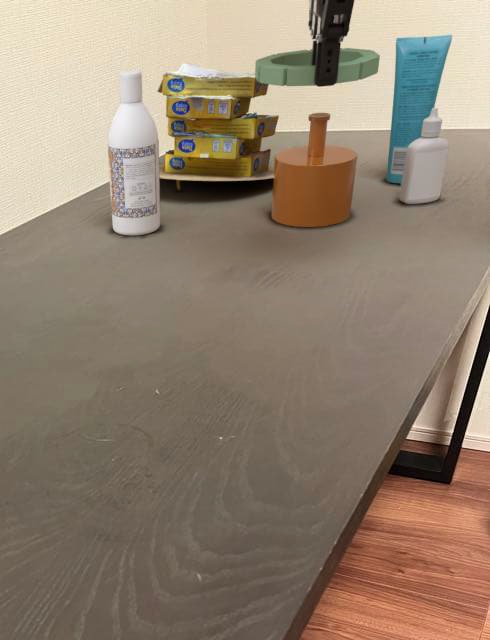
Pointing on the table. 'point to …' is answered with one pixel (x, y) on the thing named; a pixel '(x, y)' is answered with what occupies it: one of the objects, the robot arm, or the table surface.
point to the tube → (413, 93)
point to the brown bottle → (313, 181)
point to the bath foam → (133, 162)
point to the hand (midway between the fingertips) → (322, 82)
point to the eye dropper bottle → (425, 164)
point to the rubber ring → (301, 73)
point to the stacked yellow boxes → (215, 126)
